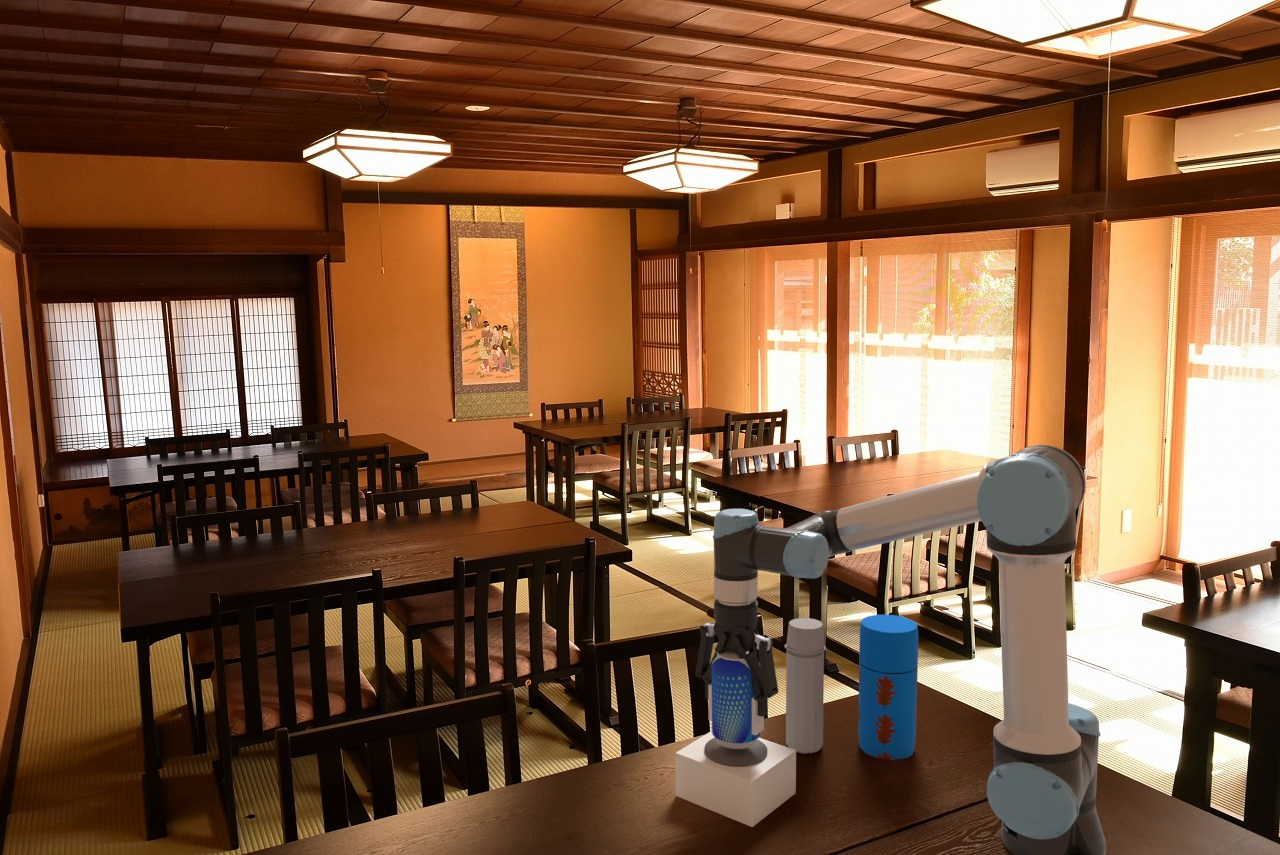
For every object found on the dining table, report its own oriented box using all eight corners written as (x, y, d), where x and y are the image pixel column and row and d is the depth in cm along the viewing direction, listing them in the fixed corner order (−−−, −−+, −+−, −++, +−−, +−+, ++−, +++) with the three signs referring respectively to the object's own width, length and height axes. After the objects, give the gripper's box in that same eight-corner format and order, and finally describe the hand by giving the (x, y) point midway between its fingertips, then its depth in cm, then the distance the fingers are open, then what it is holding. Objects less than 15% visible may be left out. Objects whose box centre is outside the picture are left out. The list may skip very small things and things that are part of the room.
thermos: (856, 756, 176) (858, 630, 173) (859, 731, 186) (861, 612, 183) (915, 763, 173) (918, 635, 170) (915, 738, 183) (918, 617, 180)
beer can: (704, 744, 160) (703, 656, 158) (723, 725, 167) (722, 640, 165) (749, 755, 156) (749, 664, 154) (766, 734, 163) (767, 648, 161)
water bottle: (824, 757, 176) (826, 631, 173) (783, 754, 177) (783, 628, 174) (824, 735, 185) (826, 615, 182) (785, 732, 186) (786, 613, 183)
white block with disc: (795, 792, 163) (796, 747, 162) (752, 827, 152) (752, 778, 151) (721, 765, 173) (721, 722, 172) (675, 795, 163) (675, 750, 162)
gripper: (800, 605, 154) (799, 734, 157) (699, 583, 168) (699, 702, 171) (777, 617, 149) (776, 750, 152) (673, 593, 162) (674, 715, 165)
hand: (735, 724), depth 161 cm, fingers closed on beer can, 8 cm apart
